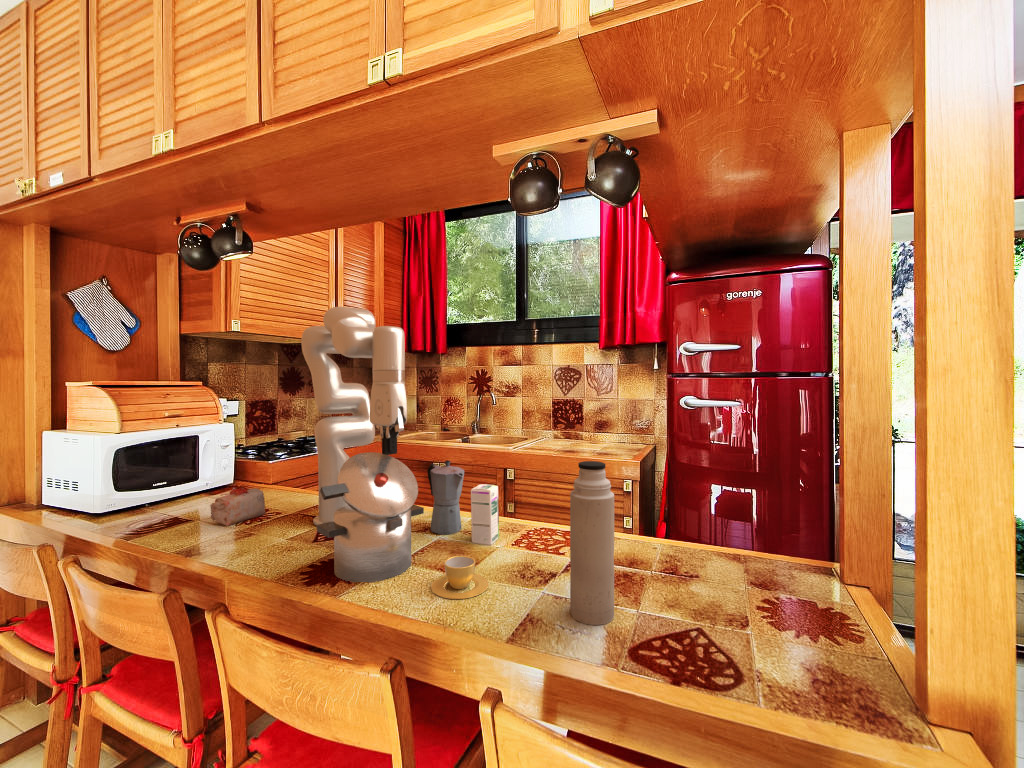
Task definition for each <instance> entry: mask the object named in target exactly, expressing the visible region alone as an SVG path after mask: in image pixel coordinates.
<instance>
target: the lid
mask: <svg viewBox="0 0 1024 768" xmlns="http://www.w3.org/2000/svg"><path fill="white" fill-rule="evenodd" d="M320 492H321V495H322V497H323V499H324V500H326V499H331V498H336V497H342V499H343V500H344V501H345V502H346V503H347V505H348V506H350V507H351V508H352V509H353V510H355V511H356V512H358V513H360V514H362V515H364V516H367V517H370V518H375V519H393V518H396V517H399V516H401V515H403V514H405V513H406V512H408V511H409V510H410V508H411V507H412V506H413V504H414V505H415V503H416V500H417V498H418V494H419V485H418V481H417V478H416V476H415V475H414V473H413V472H412V470H411V469H410V468H409V467H408V466H407V465H406V464H405V463H403V462H402V461H400V460H399V459H397V458H396V457H393V456H392V455H384V454H382V452H370V451H369V452H360V453H357V454H355V455H353V456H351V457H350V458H349V459H348V460H347V461H346V462H345V463H344V464H343V466H342V467H341V469H340V472H339V474H338V478H337V484H336V485H331V486H325V487H321V490H320Z"/></svg>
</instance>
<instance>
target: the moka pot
mask: <svg viewBox="0 0 1024 768" xmlns="http://www.w3.org/2000/svg"><path fill="white" fill-rule="evenodd" d="M444 463H445V464H444V465H442V466H440V465H438V464H434V463H430V465H429V467H428V468H427V470H426V471H427V478H428V483H429V487H430V488H429V489H430V494H431V496H433V507H432V514H431V520H430V528H429V529H430V531H431V532H432V533H435V534H437V535H451V534H452V535H453V534H456V533H459V532H460V531H461V530H462V520H461V518H462V517H461V512H460V510H461V509H460V508H461V507H460V503H459V502H460V497H461V495H462V492H463V491H462V490H463V484H464V483H463V482H464V478H465V477H464V476H465V469H463V468H462V467H459V466H455V465H454V466H452V465H451V460H444Z"/></svg>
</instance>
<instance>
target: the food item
mask: <svg viewBox="0 0 1024 768" xmlns="http://www.w3.org/2000/svg"><path fill="white" fill-rule="evenodd" d="M209 506H210V519H211V520H212V522H214V521H215V522H216V523H218V524H221V525H222V526H227V527H229V526H233V525H235V524H237V523H241V522H244V521H247V520H251V519H254V518H257V517H260V516H263V515H265V514H266V509H265V508H266V503H265V496H264V491H263V490H261V489H259V488H254V487H253V488H250V489H246V488H244V487H239V488H236V487H233V488H232V489H231V490H229V494H226V495H223V496H221V497H216V498H215V499H214V502H211V504H210V505H209Z"/></svg>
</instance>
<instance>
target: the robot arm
mask: <svg viewBox="0 0 1024 768" xmlns="http://www.w3.org/2000/svg"><path fill="white" fill-rule="evenodd" d="M322 320H323V325H313V326H312V325H311V326H309V327H307V328H305V329H304V330H303V332H302V334H301V341H300V342H301V351H302V355H303V357H304V360H305V362H306V364H307V366H308V369H309V371H310V374H311V380H312V387H313V393H314V401H315V405H316V408H317V410H318V412H319V413H321V414H323V415H324V414H326V415H333V414H334V415H336V414H352V415H340V416H327V417H324V418H322V419H319V420H318V422H316V424H315V426H314V438H315V445H316V450H317V466H318V470H317V471H318V472H317V473H318V477H317V478H318V507H317V509H318V515H316V516H315V517H314V518H313V521H312V522H313V525H315V526H316V527H317V525H319V524H323V523H327V522H332V521H334V513H335V511H336V510H338V509H340V508H342V507H344V506H347V503H346V502H345V501H344V500H343V499H342V497H336V498H331V499H326V500H324V499H323V497H322V495H321V492H320V490H321V487H325V486H331V485H336V484H337V478H338V474H339V472H340V469H341V467H342V466H343V464H344V463H345V462H346V461H347V460H348V459H349V458H351V457H350V456H349V454H347V453H346V451H345V450H344V448H352V447H362V446H366V445H370V444H372V443H373V441H374V440H375V436H376V429H377V430H379V432H380V433H379V434H380V438H381V453H382V454H384V455H389V456H392V455H397V454H398V437H399V435H400V434H399V433H400V432H403V431H404V430H405V427H404V425H406V424H407V421H408V401H407V400H408V399H407V391H406V385H405V384H406V370H405V369H406V355H405V353H406V352H405V349H406V347H405V346H406V345H405V344H406V343H405V340H406V339H405V338H406V336H405V331H404V329H403V328H402V327H400V326H393V325H380V326H377V327H376V325H377V322H376V318H375V315H374V314H373V313H372V312H371V311H370V310H368V309H366V308H358V307H357V308H356V307H349V306H348V307H347V306H335V307H331V308H329V309H328V310H326V311H325V313H324V314H323V319H322ZM327 354H335V355H336V354H337V355H339V354H341V355H342V356H344V357H345V358H346V357H347V358H352V359H354V358H356V359H357V358H359V359H360V358H363V359H372V385H371V392H370V394H369V391H368V389H367V387H365V385H364V384H361V383H358V382H344V381H343V379H342V374H341V369H340V367H339V365H338V364H337V363H336V362H335V361H334V360H333V359H332V358H331V357H330V356H329V355H327Z"/></svg>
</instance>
